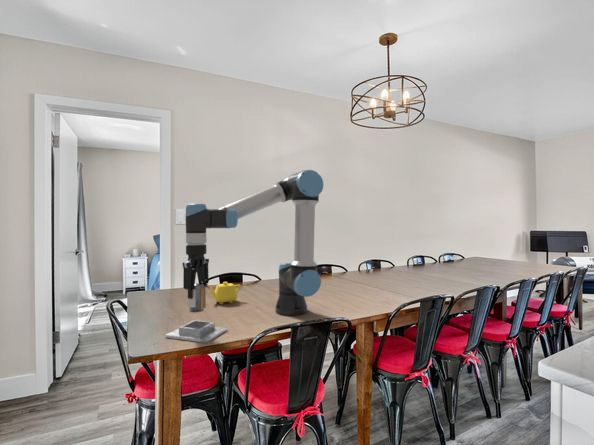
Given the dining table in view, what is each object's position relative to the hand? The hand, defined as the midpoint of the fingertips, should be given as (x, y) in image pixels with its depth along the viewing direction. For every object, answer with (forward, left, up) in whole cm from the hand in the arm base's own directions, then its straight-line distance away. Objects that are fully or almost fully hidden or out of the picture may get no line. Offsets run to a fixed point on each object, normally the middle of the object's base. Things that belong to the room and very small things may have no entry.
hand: (196, 304), depth 126 cm
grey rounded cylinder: (0, 0, -2) cm, 2 cm away
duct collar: (0, 0, -11) cm, 11 cm away
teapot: (+16, -46, -11) cm, 50 cm away
